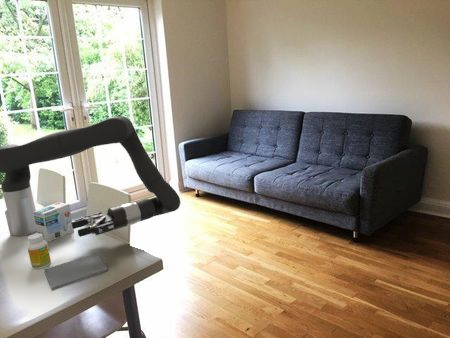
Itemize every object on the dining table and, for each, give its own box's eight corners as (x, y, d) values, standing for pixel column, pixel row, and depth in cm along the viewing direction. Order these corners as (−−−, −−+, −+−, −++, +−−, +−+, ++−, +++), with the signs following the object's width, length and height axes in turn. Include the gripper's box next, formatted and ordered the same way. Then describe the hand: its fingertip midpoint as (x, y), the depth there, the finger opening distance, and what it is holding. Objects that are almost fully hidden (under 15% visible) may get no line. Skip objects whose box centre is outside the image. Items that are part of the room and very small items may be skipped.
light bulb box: (49, 242, 131) (43, 213, 128) (38, 239, 134) (31, 211, 131) (75, 230, 139) (70, 203, 137) (64, 227, 143) (58, 201, 140)
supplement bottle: (43, 269, 111) (36, 240, 109) (27, 269, 112) (21, 239, 110) (54, 261, 116) (48, 232, 114) (39, 260, 117) (33, 232, 115)
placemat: (52, 290, 100) (51, 288, 99) (44, 271, 110) (43, 269, 110) (107, 270, 108) (107, 268, 107) (95, 254, 118) (95, 253, 118)
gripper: (115, 200, 131) (67, 212, 123) (130, 210, 120) (78, 224, 111) (119, 219, 133) (72, 233, 125) (133, 231, 122) (82, 247, 113)
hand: (75, 229), depth 118 cm, fingers open, 8 cm apart
